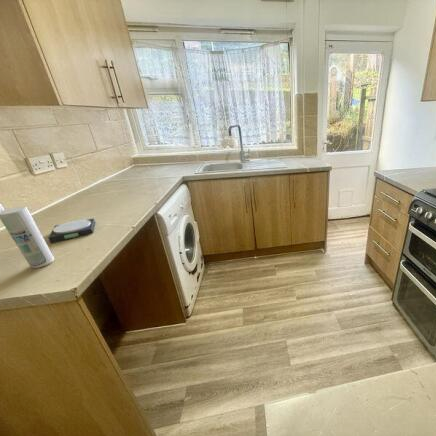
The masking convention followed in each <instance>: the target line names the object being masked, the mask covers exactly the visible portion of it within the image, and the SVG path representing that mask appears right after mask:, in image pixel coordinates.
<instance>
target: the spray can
mask: <svg viewBox="0 0 436 436" xmlns="http://www.w3.org/2000/svg"><path fill="white" fill-rule="evenodd" d="M0 221H1V223H2V224H3V226H4V227H5V229H6V230H7V232H8V234H9V236H10V237H11V238H12V240H13V241H14V243H15V245H16V247H17V248H18V249H19V251H20V252H21V254H22V256H23V258H24V259H25V260H26V262H27V264H28V265H29V267H30V268H31V269H38V268H41V267H42V268H43V267H45V266H47V265H51V263H53V262H54V261H55V257H54V255H53V253H52V251H51V250H50V247H49V246H48V244H47V241H46V239H45V238H44V237H43V235H42V233H41V231H40V229H39V226H38V225H37V223H36V222H35V220H34V218H33V216H32V215H31V213H30V211H29V209H28V207H27V206H16V207H11V208H7V209H4V211H1V212H0Z"/></svg>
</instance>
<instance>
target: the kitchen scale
mask: <svg viewBox="0 0 436 436" xmlns="http://www.w3.org/2000/svg"><path fill="white" fill-rule="evenodd" d="M95 226H96V220H95V218H89V219H76V220H72V221H68V222H64V223H62V224H61V223H60V224H56V225H54V227H53V229H52V230H51V232H50V233H49V235H48V237H47V239H48V241H49V243H50V244H53V243H58V242H61V241H67V240H71V239H75V238H80V236H81V237H84V235H85V236H89V235H93V234H94V231H95ZM92 233H93V234H92ZM88 234H89V235H88Z"/></svg>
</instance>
